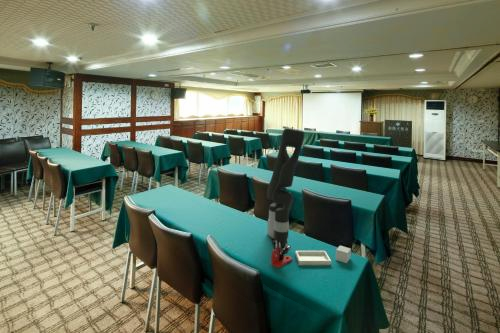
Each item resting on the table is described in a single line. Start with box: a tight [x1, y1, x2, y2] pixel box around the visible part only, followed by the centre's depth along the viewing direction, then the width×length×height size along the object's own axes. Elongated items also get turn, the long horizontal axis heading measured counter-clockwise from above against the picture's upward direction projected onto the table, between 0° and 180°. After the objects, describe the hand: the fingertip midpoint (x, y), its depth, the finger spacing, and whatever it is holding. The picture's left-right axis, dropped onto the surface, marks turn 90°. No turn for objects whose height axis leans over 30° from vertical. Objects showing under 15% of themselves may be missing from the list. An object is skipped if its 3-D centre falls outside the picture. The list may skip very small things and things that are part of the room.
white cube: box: [335, 245, 352, 264], centre depth 150 cm, size 6×6×6 cm
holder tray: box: [294, 250, 332, 266], centre depth 149 cm, size 11×17×2 cm, turn 92°
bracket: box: [270, 248, 293, 269], centre depth 146 cm, size 12×4×8 cm, turn 131°
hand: (280, 259), depth 147 cm, fingers closed on bracket, 1 cm apart
